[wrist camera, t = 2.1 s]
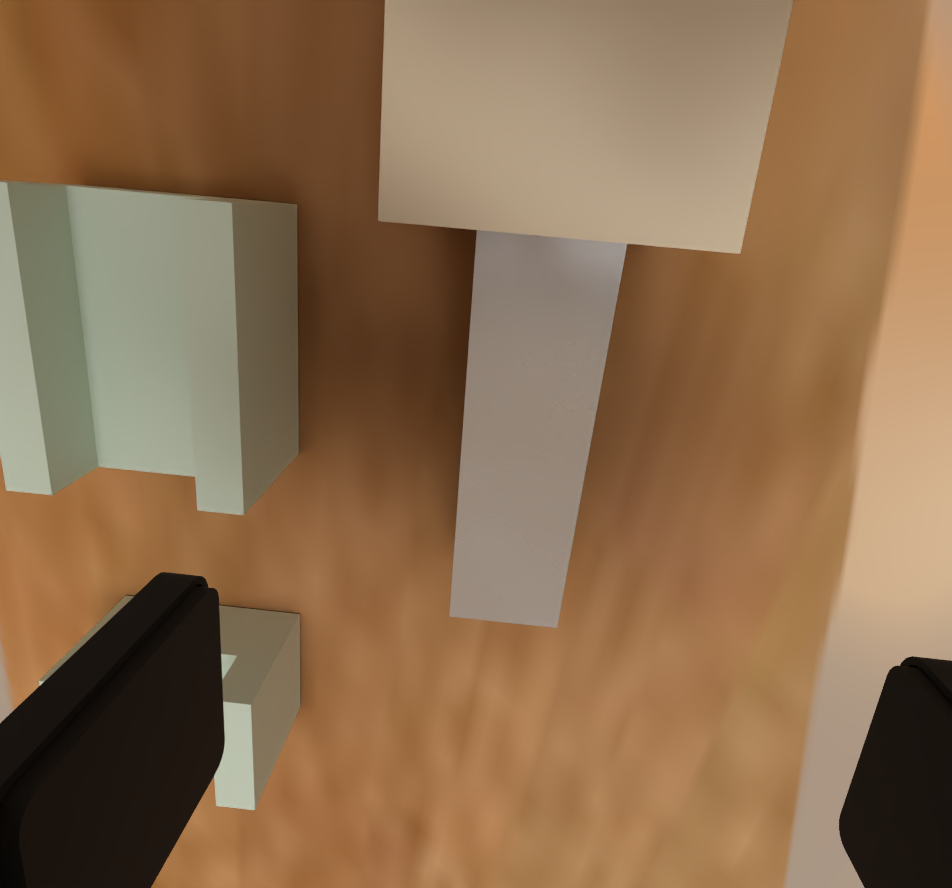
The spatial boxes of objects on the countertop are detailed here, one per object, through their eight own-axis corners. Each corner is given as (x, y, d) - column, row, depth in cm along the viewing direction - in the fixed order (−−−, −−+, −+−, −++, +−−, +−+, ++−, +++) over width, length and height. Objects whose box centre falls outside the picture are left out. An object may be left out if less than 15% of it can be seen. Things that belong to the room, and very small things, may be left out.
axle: (508, -88, 13) (502, -127, 10) (660, -77, 13) (692, -113, 10) (459, 548, 21) (449, 616, 18) (554, 558, 21) (556, 628, 18)
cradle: (80, 184, 19) (-47, 177, 15) (297, 204, 19) (231, 202, 14) (136, 687, 25) (56, 786, 20) (300, 706, 24) (254, 810, 20)
